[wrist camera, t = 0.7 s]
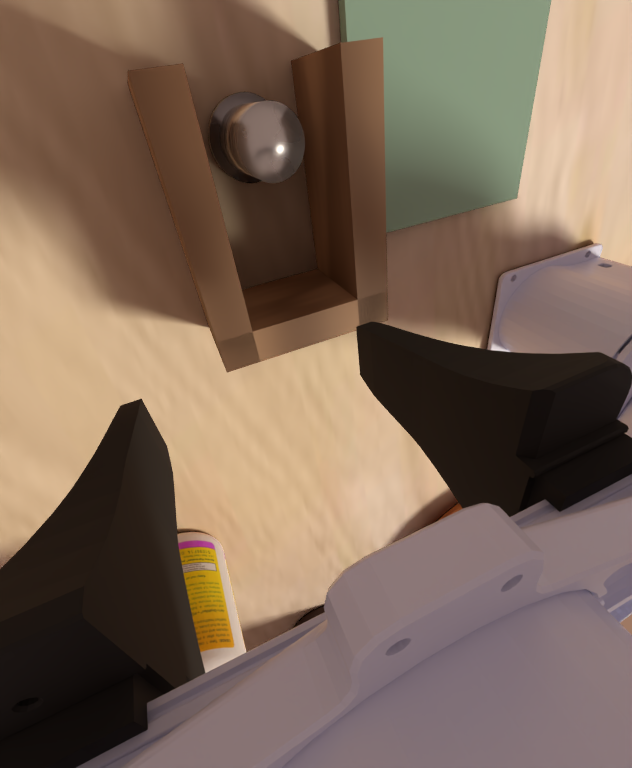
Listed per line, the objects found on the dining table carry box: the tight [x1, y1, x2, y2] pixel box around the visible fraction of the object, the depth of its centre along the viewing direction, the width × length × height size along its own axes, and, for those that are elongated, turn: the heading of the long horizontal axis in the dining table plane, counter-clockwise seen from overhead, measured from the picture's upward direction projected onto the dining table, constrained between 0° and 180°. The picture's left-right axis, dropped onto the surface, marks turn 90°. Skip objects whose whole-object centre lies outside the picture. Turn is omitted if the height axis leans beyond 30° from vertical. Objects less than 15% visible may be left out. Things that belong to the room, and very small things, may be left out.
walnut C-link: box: [128, 37, 388, 372], centre depth 17 cm, size 8×11×5 cm
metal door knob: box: [208, 92, 305, 183], centre depth 16 cm, size 3×3×4 cm
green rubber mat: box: [338, 0, 551, 233], centre depth 19 cm, size 11×13×1 cm
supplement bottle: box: [177, 532, 246, 673], centre depth 26 cm, size 7×7×13 cm
